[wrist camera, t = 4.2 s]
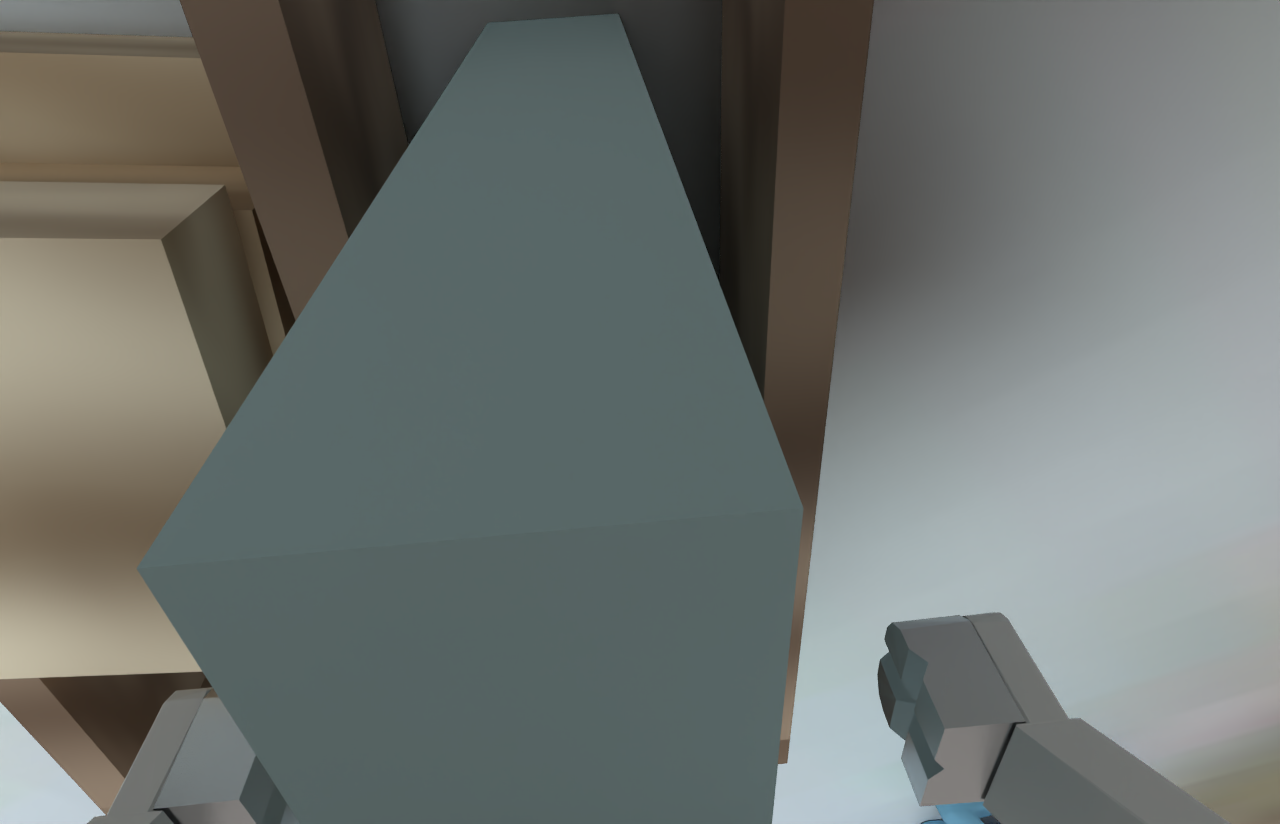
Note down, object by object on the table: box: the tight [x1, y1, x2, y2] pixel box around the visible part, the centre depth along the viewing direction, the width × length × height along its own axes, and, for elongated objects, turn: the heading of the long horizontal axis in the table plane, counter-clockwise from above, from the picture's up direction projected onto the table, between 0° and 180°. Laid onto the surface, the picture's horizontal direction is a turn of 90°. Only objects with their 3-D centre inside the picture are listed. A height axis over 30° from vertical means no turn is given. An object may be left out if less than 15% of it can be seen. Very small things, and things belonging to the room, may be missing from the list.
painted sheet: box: [136, 14, 803, 824], centre depth 13 cm, size 14×2×14 cm, turn 3°
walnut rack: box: [0, 0, 874, 815], centre depth 16 cm, size 21×18×5 cm
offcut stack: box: [0, 31, 296, 679], centre depth 15 cm, size 13×7×7 cm, turn 178°
